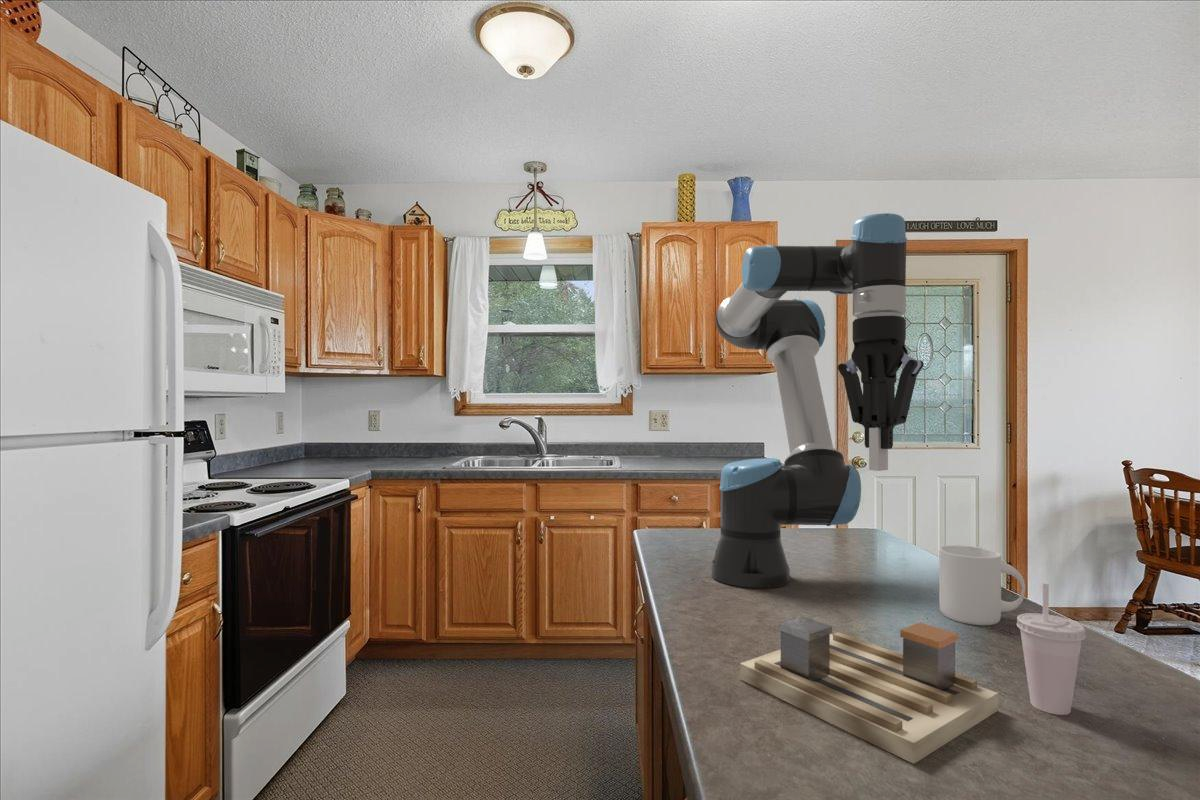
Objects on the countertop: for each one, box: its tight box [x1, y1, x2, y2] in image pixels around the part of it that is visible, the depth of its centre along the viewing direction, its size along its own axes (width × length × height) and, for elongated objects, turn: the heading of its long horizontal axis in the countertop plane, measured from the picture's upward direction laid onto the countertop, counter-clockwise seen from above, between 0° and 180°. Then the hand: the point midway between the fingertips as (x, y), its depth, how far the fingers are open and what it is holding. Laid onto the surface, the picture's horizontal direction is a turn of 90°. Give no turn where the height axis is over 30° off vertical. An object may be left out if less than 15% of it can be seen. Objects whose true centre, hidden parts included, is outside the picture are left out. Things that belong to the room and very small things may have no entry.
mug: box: [938, 544, 1026, 626], centre depth 100 cm, size 9×12×11 cm
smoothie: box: [1016, 583, 1087, 716], centre depth 70 cm, size 6×6×14 cm
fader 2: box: [899, 622, 959, 690], centre depth 72 cm, size 4×4×6 cm
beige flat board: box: [739, 632, 999, 765], centre depth 73 cm, size 22×18×3 cm
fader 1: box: [777, 615, 833, 682], centre depth 74 cm, size 4×4×6 cm
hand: (878, 469), depth 95 cm, fingers closed
